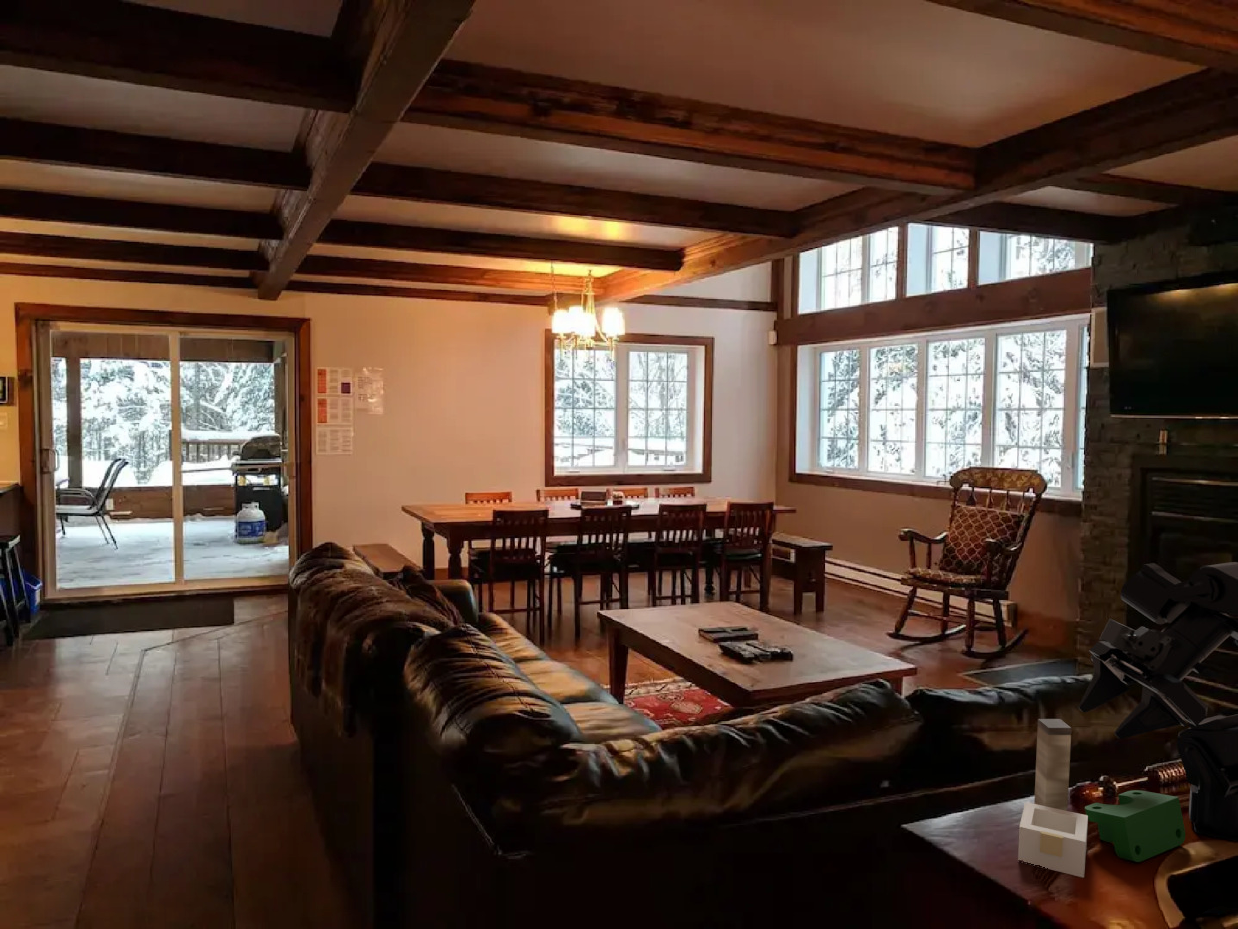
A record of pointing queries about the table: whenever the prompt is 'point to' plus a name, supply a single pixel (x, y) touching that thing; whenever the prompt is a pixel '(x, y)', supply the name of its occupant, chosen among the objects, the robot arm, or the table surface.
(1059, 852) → the white labeled box
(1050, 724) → the tall wooden post
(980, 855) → the table surface
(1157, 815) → the clamp
